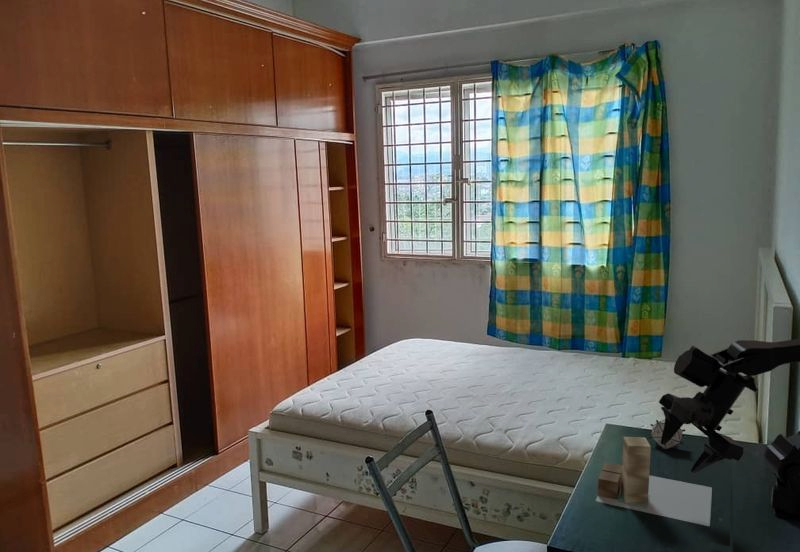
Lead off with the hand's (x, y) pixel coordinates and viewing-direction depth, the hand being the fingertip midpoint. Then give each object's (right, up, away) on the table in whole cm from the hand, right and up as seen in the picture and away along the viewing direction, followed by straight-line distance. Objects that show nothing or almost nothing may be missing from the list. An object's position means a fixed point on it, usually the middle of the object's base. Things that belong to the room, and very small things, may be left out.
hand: (677, 457), depth 131 cm
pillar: (-8, -10, +3) cm, 13 cm away
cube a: (-13, -9, +5) cm, 17 cm away
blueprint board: (-3, -10, +5) cm, 12 cm away
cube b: (-10, -9, +9) cm, 16 cm away
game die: (+10, -6, +29) cm, 31 cm away
